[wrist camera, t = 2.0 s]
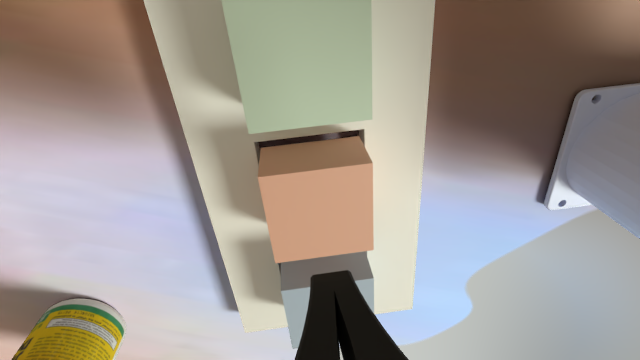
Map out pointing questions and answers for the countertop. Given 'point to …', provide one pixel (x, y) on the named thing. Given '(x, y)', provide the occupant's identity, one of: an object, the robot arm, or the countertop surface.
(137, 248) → the countertop surface
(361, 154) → the terracotta button
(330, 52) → the sage button
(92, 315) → the supplement bottle
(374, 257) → the panel
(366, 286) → the slate button
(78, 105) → the countertop surface
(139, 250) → the countertop surface
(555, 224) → the countertop surface
